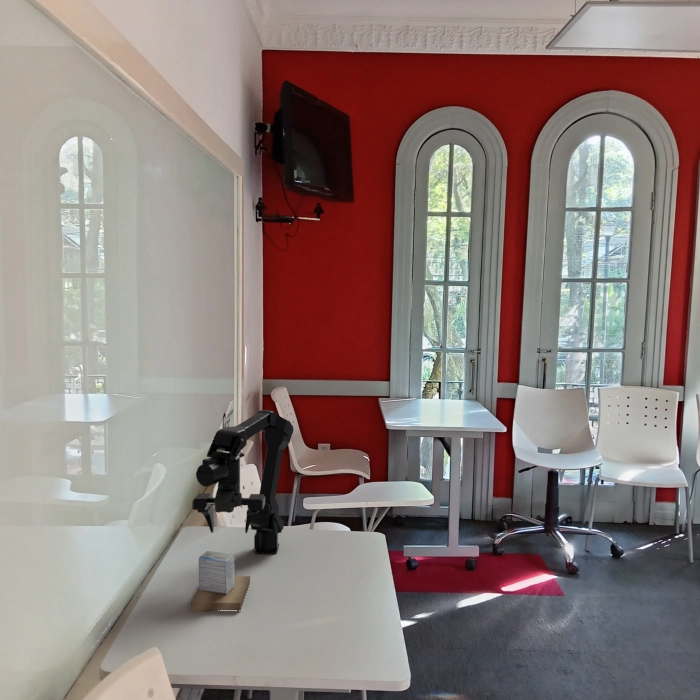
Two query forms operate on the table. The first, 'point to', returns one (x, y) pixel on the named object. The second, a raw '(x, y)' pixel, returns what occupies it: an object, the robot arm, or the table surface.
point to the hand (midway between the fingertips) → (229, 532)
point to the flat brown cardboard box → (222, 597)
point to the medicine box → (216, 572)
